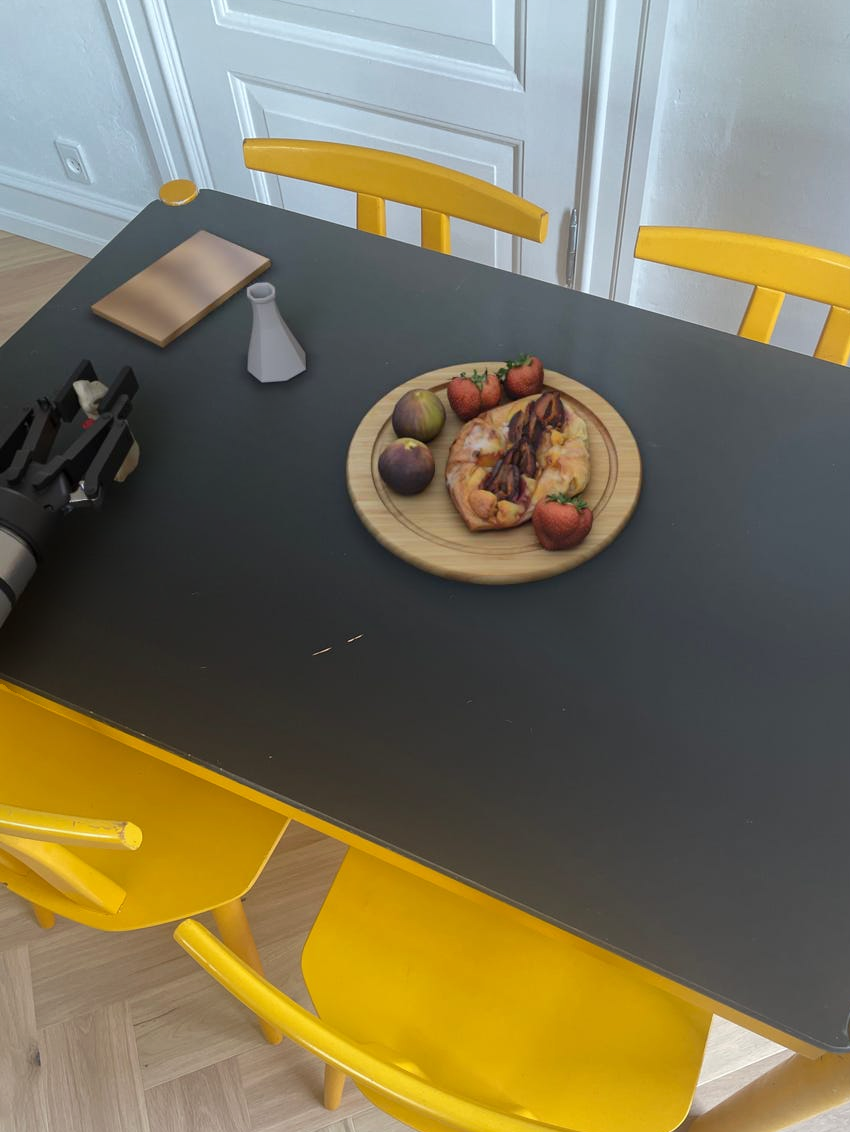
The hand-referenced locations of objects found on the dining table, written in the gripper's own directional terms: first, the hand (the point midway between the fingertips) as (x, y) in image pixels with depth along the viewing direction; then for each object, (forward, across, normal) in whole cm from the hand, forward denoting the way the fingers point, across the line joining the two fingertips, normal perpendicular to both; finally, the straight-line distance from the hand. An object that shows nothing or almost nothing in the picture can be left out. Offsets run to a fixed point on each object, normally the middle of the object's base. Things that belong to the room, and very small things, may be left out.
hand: (111, 373), depth 92 cm
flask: (+15, +11, -9) cm, 21 cm away
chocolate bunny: (-5, +1, -6) cm, 8 cm away
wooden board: (+26, -5, -9) cm, 28 cm away
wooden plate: (+3, +40, -9) cm, 41 cm away
